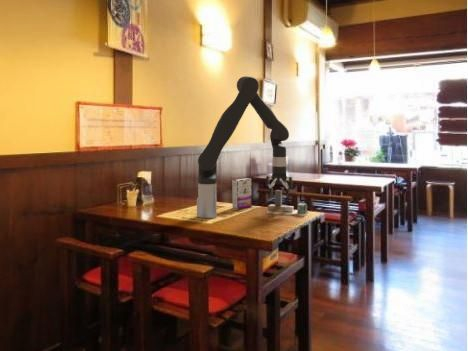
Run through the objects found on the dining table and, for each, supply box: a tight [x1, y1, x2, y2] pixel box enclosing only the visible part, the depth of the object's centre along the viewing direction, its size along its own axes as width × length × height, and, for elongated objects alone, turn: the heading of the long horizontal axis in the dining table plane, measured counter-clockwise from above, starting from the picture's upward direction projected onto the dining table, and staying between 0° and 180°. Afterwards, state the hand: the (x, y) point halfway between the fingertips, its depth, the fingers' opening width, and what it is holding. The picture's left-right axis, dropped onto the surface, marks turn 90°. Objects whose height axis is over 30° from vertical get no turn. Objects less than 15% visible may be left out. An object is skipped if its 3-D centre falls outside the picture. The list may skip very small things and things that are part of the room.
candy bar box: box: [231, 177, 253, 210], centre depth 230 cm, size 11×5×16 cm, turn 131°
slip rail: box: [266, 202, 309, 217], centre depth 215 cm, size 20×10×5 cm, turn 69°
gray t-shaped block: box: [268, 189, 295, 212], centre depth 216 cm, size 13×3×11 cm, turn 69°
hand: (279, 195), depth 216 cm, fingers open, 8 cm apart
